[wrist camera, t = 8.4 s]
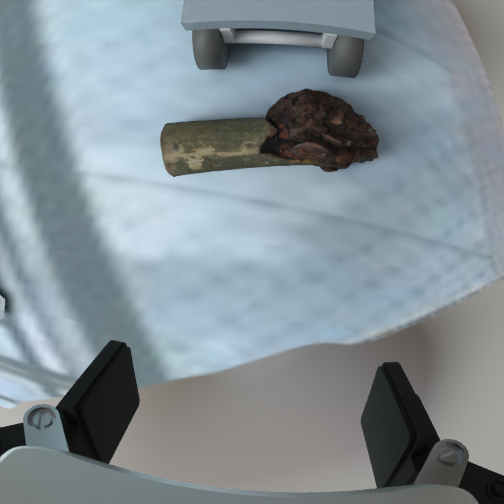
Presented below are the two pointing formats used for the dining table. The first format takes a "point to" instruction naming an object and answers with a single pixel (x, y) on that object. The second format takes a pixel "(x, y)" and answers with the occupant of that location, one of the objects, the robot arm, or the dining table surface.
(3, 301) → the ring with crossbar
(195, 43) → the trolley
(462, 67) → the dining table surface
